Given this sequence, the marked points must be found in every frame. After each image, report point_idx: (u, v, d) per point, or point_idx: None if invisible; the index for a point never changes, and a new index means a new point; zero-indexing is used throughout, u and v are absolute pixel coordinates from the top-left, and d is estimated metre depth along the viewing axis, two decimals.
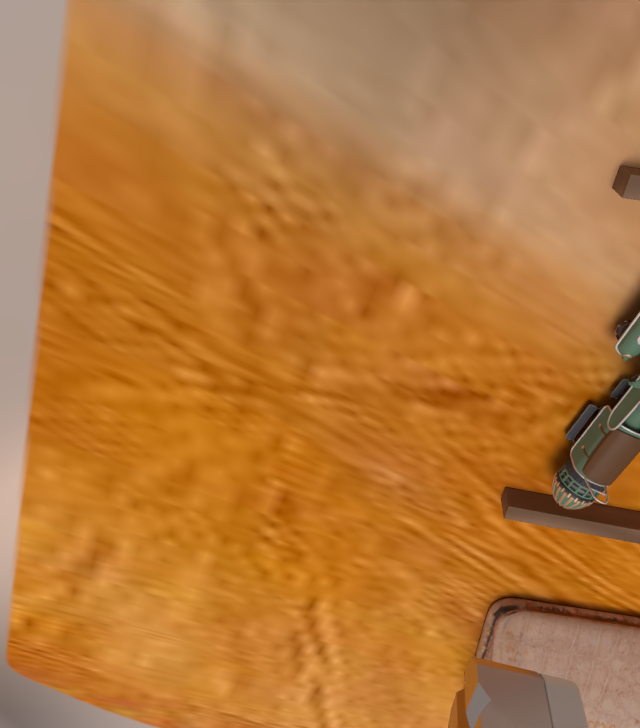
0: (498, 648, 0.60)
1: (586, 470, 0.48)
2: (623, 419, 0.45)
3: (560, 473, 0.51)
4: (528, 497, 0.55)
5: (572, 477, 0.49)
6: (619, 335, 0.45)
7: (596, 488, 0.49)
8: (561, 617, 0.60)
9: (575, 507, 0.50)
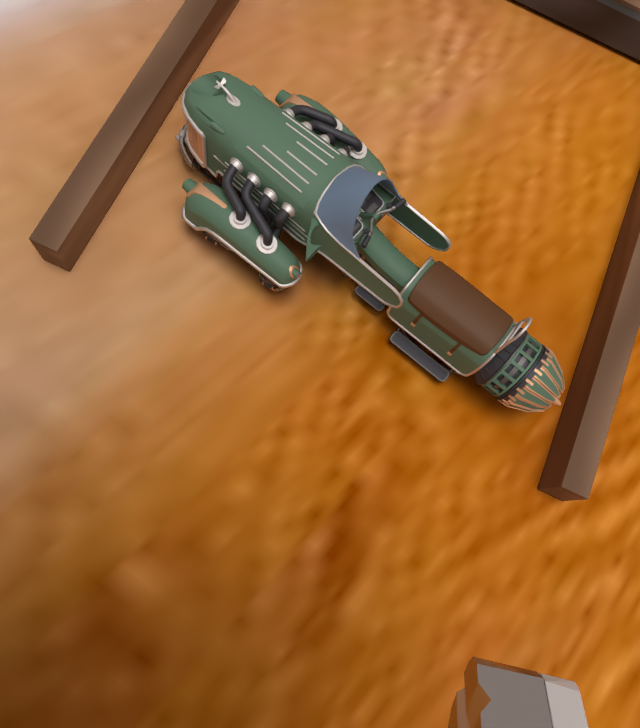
0: None
1: (480, 348, 0.29)
2: (382, 280, 0.29)
3: (496, 393, 0.31)
4: (555, 453, 0.33)
5: (496, 372, 0.30)
6: (273, 282, 0.32)
7: (517, 338, 0.30)
8: None
9: (556, 376, 0.30)
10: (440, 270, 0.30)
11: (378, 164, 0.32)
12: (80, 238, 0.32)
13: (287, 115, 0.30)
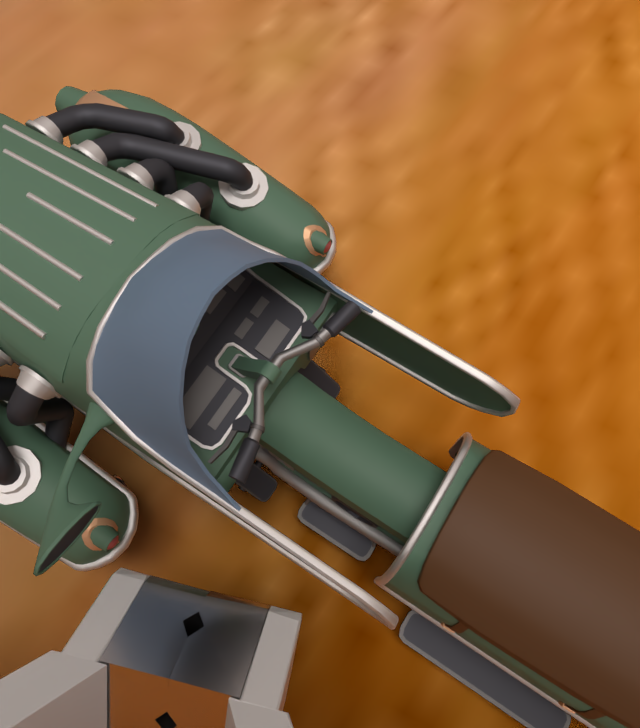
0: None
1: None
2: (320, 569, 0.09)
3: None
4: None
5: None
6: None
7: None
8: None
9: None
10: (500, 486, 0.10)
11: (302, 211, 0.13)
12: None
13: (18, 131, 0.11)
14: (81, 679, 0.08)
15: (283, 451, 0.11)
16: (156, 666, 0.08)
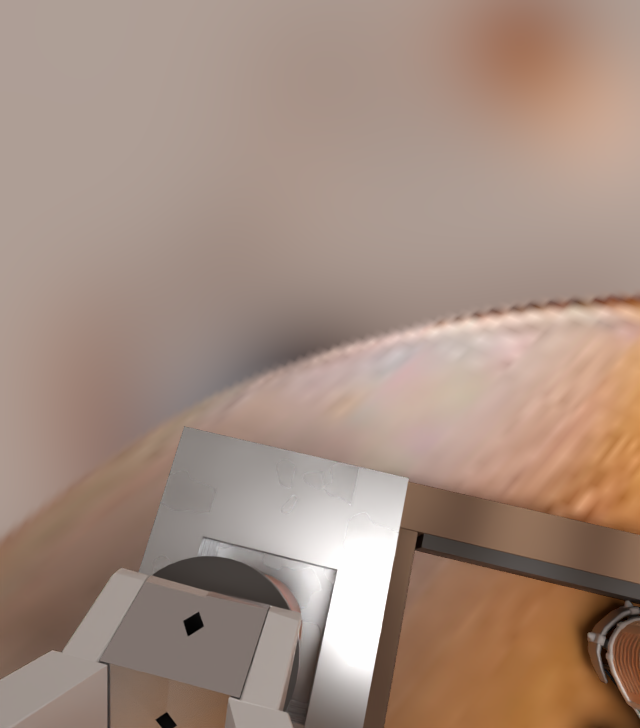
0: None
1: None
2: None
3: None
4: None
5: None
6: None
7: None
8: None
9: None
10: None
11: None
12: None
13: None
14: (81, 679, 0.08)
15: None
16: (156, 666, 0.08)
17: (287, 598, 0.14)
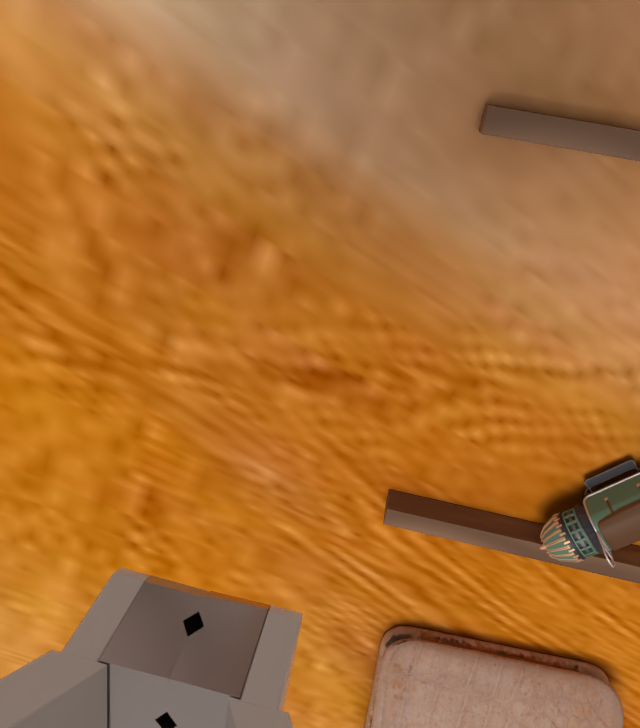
0: (383, 683, 0.52)
1: (604, 524, 0.42)
2: None
3: (565, 516, 0.44)
4: (413, 501, 0.48)
5: (581, 525, 0.43)
6: None
7: (599, 547, 0.43)
8: (457, 649, 0.52)
9: (562, 558, 0.44)
10: None
11: None
12: None
13: None
14: (81, 679, 0.08)
15: None
16: (156, 666, 0.08)
17: None
